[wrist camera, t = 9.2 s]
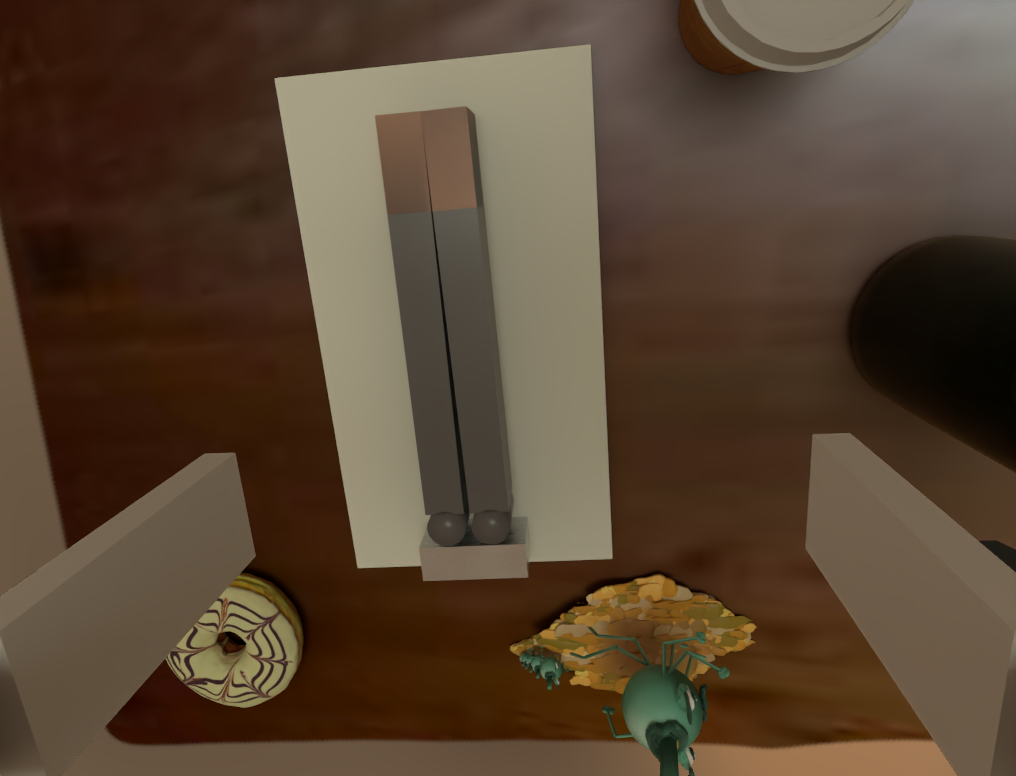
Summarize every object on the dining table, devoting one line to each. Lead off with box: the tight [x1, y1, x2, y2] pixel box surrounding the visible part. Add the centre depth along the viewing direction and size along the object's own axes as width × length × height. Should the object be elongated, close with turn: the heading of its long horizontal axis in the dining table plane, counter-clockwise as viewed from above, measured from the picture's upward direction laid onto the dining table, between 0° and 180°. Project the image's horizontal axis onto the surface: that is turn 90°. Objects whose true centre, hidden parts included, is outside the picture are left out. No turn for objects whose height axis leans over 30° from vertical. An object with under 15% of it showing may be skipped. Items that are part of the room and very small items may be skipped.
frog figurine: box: [510, 574, 757, 776], centre depth 41 cm, size 10×18×15 cm, turn 90°
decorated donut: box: [166, 573, 304, 707], centre depth 48 cm, size 10×11×4 cm
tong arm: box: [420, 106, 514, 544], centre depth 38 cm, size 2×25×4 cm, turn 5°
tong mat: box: [275, 44, 613, 568], centre depth 41 cm, size 18×32×1 cm, turn 5°
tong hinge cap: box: [419, 517, 530, 581], centre depth 43 cm, size 7×2×4 cm, turn 95°
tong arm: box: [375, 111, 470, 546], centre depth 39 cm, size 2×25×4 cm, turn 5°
